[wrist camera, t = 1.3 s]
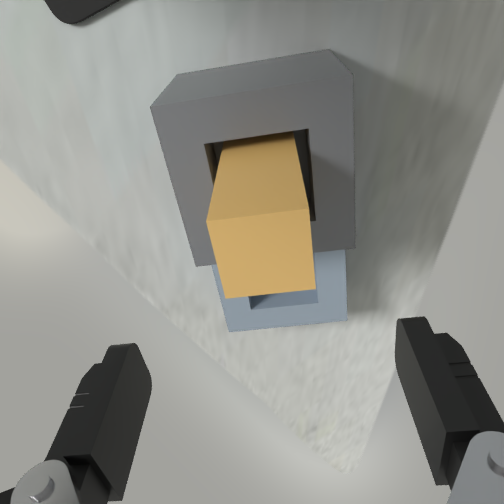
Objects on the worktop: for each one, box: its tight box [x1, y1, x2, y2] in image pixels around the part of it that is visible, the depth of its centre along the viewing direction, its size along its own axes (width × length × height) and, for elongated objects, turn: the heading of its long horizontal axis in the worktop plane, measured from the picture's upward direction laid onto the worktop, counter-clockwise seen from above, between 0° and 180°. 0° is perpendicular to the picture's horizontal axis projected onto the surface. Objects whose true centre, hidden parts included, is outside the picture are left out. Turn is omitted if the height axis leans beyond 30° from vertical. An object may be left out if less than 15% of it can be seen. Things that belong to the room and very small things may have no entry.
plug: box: [206, 131, 316, 299], centre depth 21 cm, size 5×4×10 cm
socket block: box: [150, 49, 355, 332], centre depth 29 cm, size 20×10×8 cm, turn 9°
